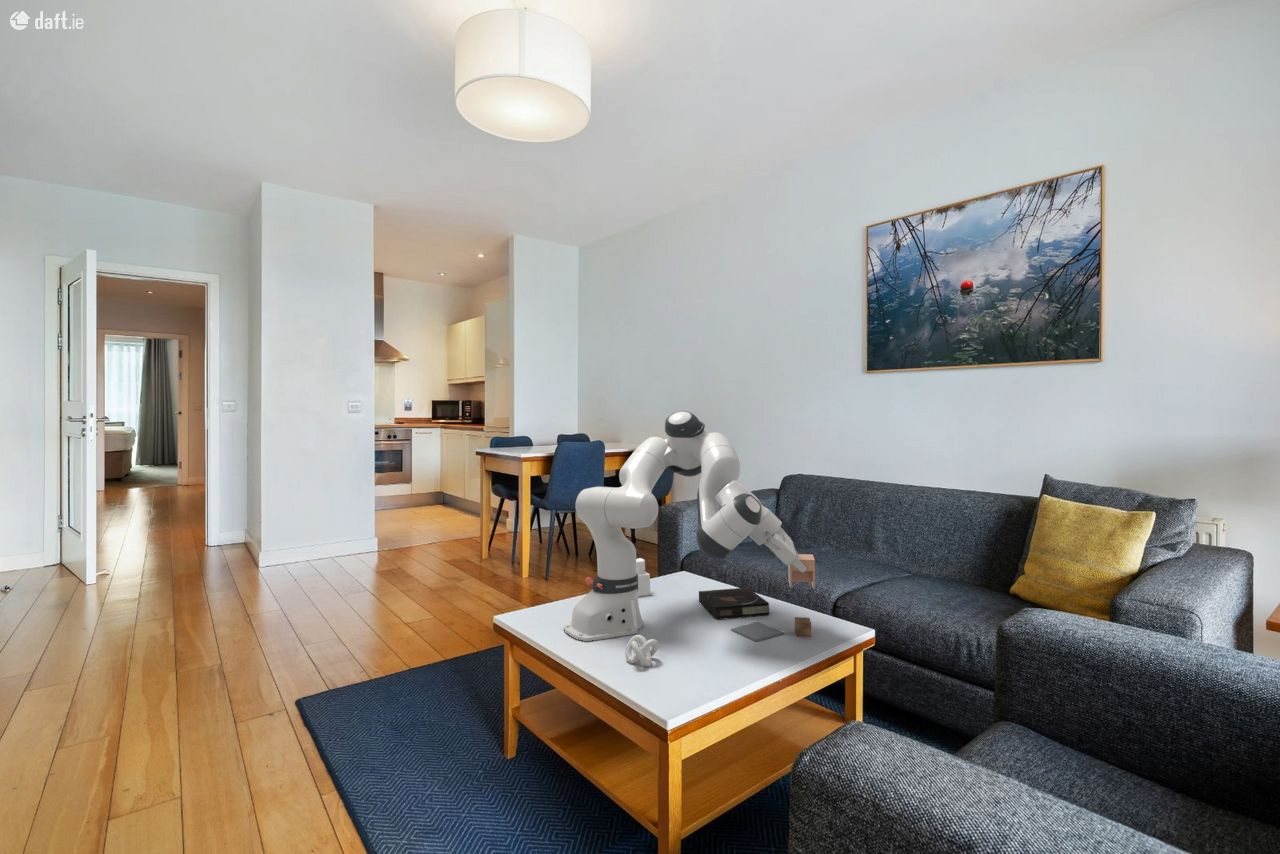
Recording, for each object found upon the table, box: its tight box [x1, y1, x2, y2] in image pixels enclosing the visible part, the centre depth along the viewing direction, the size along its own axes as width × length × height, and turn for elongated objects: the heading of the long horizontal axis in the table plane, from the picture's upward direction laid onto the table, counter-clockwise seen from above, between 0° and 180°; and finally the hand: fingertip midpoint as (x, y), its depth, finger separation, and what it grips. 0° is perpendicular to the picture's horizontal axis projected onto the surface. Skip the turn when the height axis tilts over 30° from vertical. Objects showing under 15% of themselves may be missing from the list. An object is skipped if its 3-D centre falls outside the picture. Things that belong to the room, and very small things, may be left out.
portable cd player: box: [698, 587, 770, 620], centre depth 185 cm, size 16×17×4 cm
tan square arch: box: [787, 553, 816, 590], centre depth 162 cm, size 6×6×8 cm
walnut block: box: [793, 616, 812, 638], centre depth 163 cm, size 4×4×4 cm
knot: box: [625, 634, 659, 668], centre depth 146 cm, size 8×8×6 cm
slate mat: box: [730, 621, 785, 643], centre depth 165 cm, size 10×10×1 cm
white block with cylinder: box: [636, 556, 651, 598], centre depth 202 cm, size 7×7×12 cm
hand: (803, 566), depth 162 cm, fingers closed on tan square arch, 6 cm apart
